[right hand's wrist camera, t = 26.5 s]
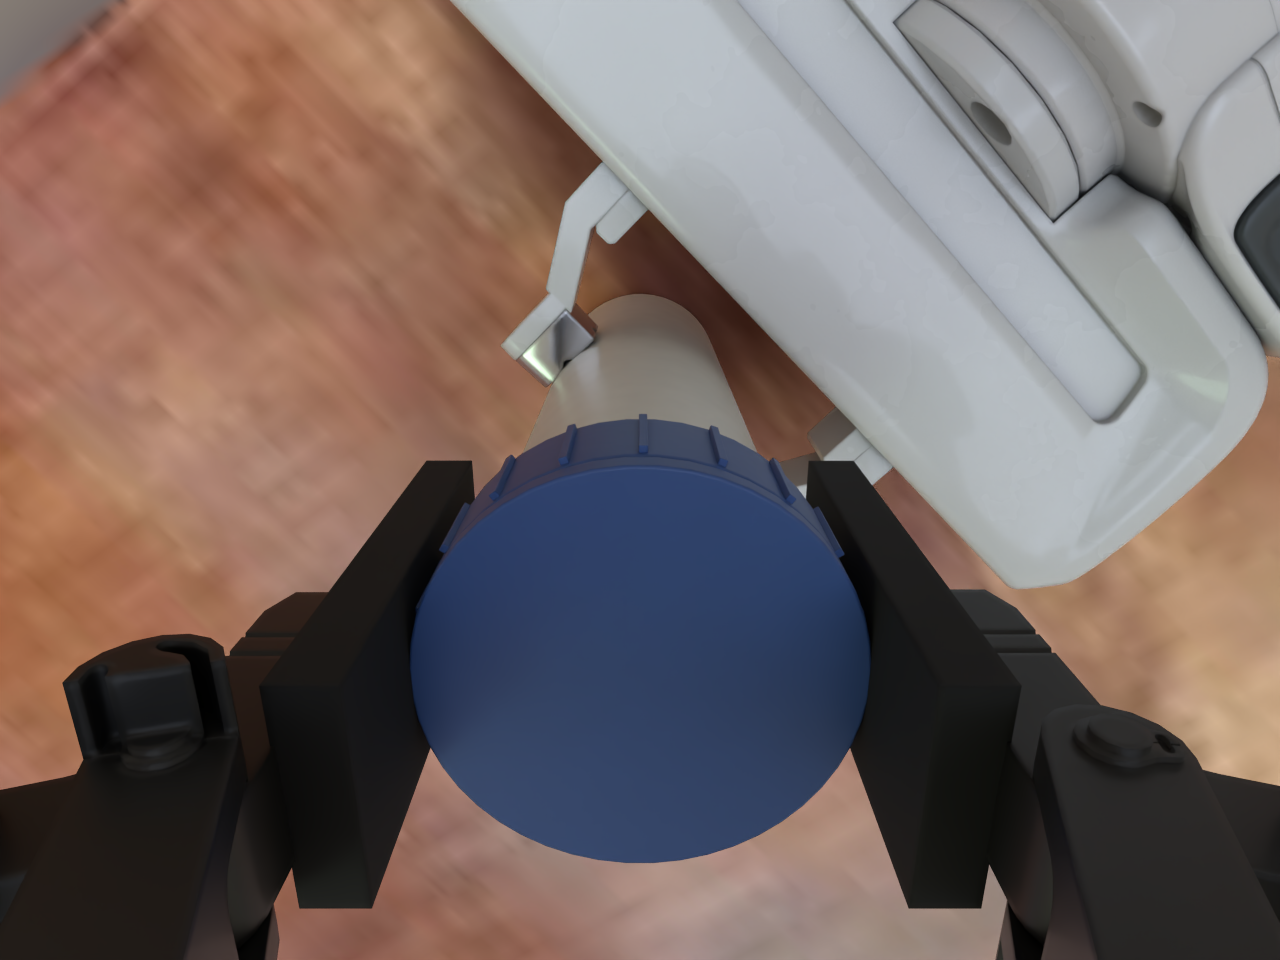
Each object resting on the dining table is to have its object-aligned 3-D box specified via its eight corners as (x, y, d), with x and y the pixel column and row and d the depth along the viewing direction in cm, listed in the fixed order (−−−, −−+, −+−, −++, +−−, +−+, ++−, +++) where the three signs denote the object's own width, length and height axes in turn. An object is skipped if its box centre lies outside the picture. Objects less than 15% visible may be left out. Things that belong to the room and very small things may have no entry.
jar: (534, 379, 27) (387, 665, 11) (630, 261, 26) (613, 396, 10) (649, 469, 28) (661, 846, 12) (746, 360, 27) (897, 623, 11)
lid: (367, 653, 12) (319, 738, 10) (577, 326, 11) (565, 357, 9) (688, 827, 13) (696, 931, 12) (923, 555, 12) (977, 625, 10)
